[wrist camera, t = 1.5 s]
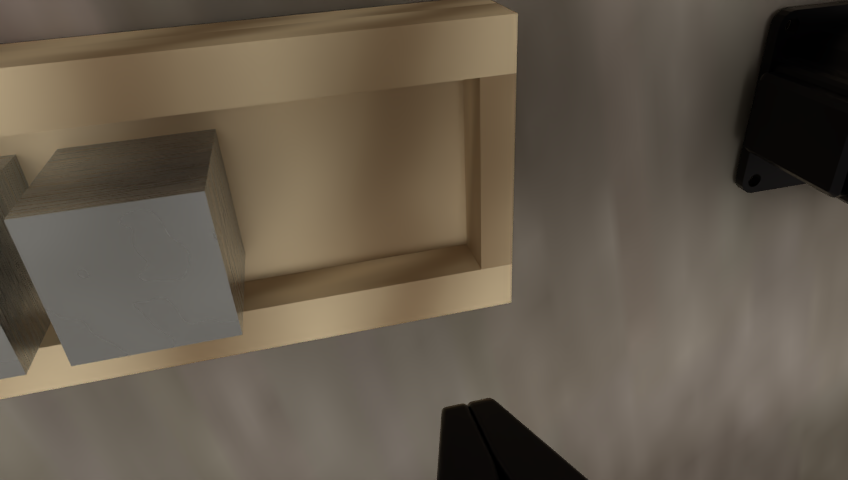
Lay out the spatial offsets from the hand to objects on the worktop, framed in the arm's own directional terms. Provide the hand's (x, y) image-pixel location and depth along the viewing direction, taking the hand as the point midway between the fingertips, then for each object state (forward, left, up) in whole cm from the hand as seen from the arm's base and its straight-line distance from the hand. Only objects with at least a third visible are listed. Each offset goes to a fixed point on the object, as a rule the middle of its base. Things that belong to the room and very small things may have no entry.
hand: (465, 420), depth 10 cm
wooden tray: (+5, 0, -11) cm, 12 cm away
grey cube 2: (+6, 0, -10) cm, 12 cm away
